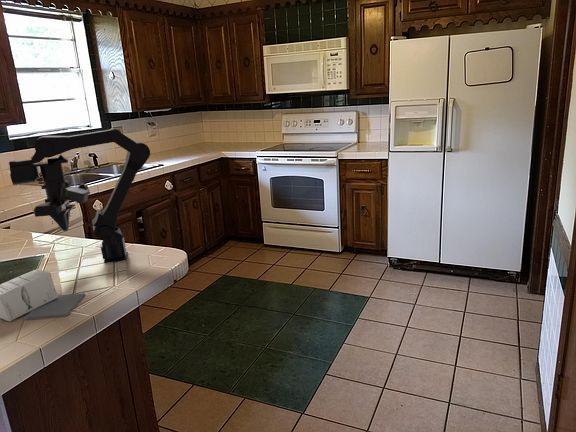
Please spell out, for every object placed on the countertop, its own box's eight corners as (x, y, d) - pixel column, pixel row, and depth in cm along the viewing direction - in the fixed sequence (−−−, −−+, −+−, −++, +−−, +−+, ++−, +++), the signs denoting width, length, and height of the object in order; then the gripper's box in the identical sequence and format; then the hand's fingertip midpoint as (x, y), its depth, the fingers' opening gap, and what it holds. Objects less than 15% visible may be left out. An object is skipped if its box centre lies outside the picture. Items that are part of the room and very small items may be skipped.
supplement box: (60, 297, 114) (9, 323, 104) (45, 292, 118) (-5, 316, 108) (51, 271, 111) (-2, 295, 102) (36, 267, 115) (-16, 290, 106)
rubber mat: (47, 298, 116) (46, 296, 116) (85, 295, 116) (85, 293, 116) (25, 319, 105) (24, 317, 105) (67, 316, 105) (66, 313, 105)
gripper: (67, 184, 119) (79, 238, 124) (94, 171, 137) (104, 219, 142) (26, 187, 119) (40, 241, 124) (58, 174, 137) (69, 222, 141)
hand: (65, 230), depth 133 cm, fingers closed
